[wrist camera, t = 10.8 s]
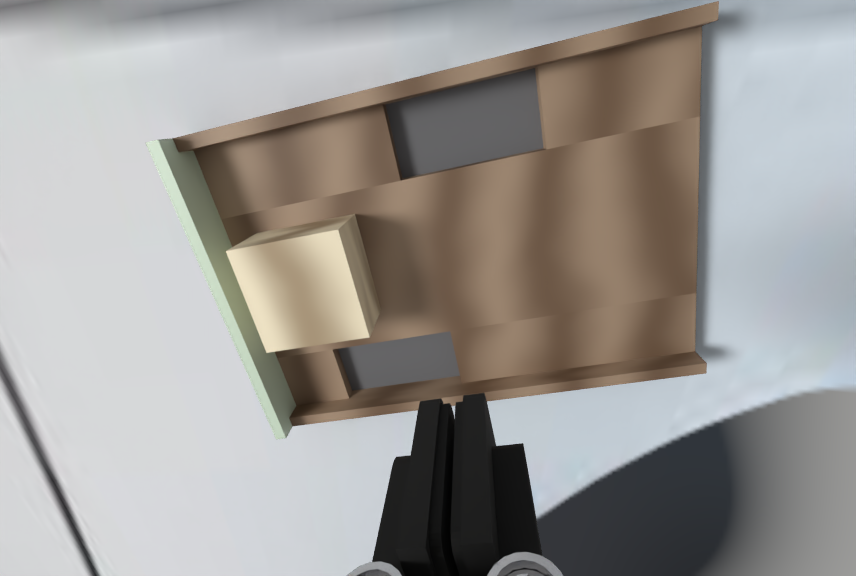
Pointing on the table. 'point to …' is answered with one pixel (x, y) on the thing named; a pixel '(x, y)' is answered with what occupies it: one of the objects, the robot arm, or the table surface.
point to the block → (307, 284)
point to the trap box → (500, 222)
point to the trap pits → (438, 150)
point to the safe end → (222, 277)
